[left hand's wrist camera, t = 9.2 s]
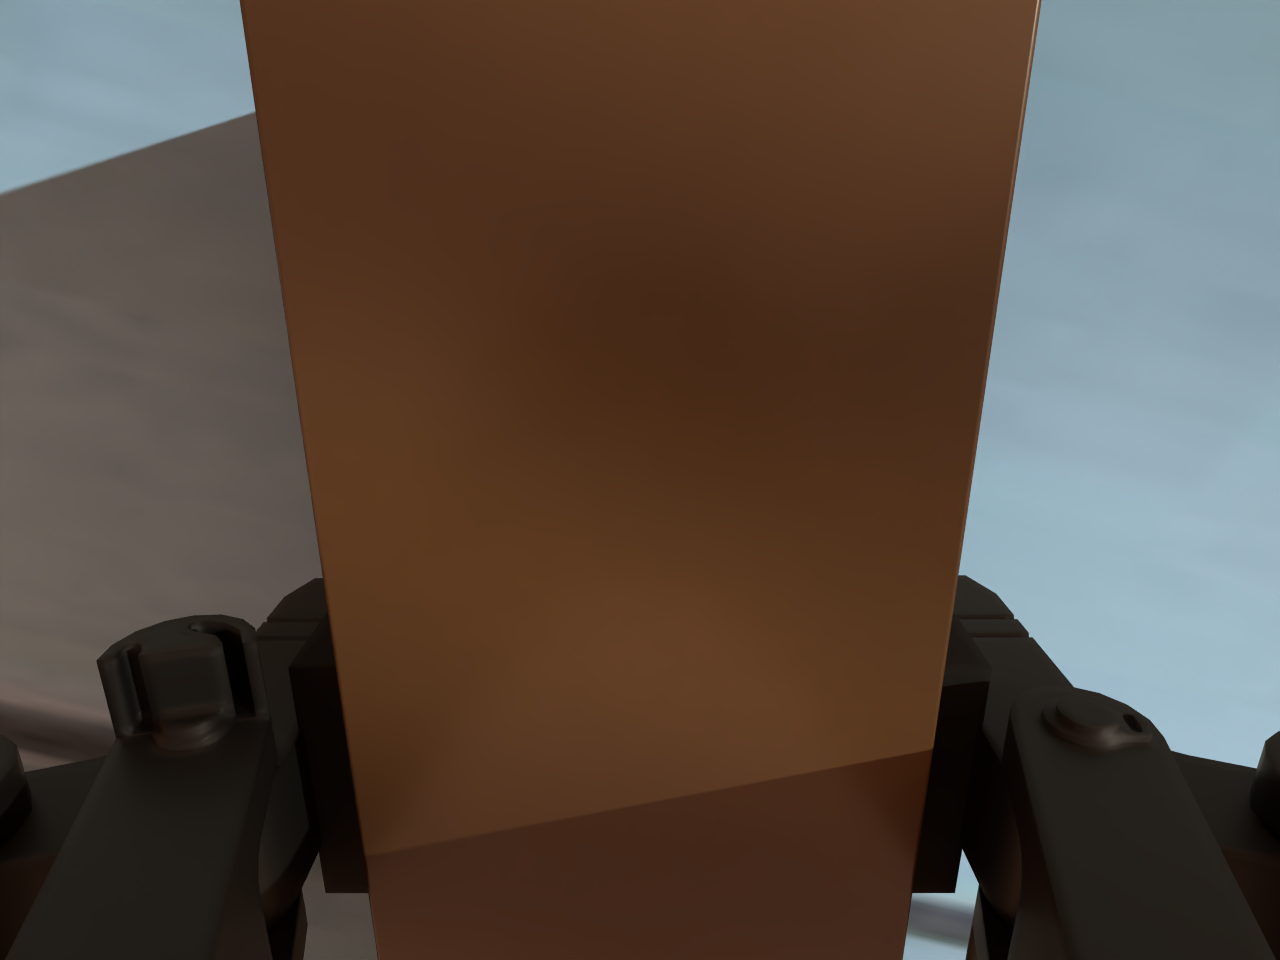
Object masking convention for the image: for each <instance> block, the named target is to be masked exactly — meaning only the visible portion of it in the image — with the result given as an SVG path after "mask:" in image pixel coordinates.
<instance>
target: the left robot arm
mask: <svg viewBox="0 0 1280 960" xmlns="http://www.w3.org/2000/svg"><path fill="white" fill-rule="evenodd" d="M97 665H98V669H99V673H100V677H101V680H102V684H103V688H104V692H105V696H106V700H107V704H108V708H109V712H110V715H111V719H112V723H113V727H114V731H115V735H116V740H115V742H114V744H113V746H112V748H111V750H110V752H109V754H108V755H106V756H102V757H99V758H95V759H90V760H85V761H80V762H75V763H70V764H65V765H59V766H54V767H49V768H44V769H39V770H34V771H29V772H25V771H24V768H23V765H22V762H21V758H20V755H19V752H18V749H17V745H16V744H14V743H13V742H12V741H10V740H9V739H8V738H6V737H5V736H4V735H0V960H303V957H304V949H305V941H306V933H307V925H308V924H307V917H306V910H305V904H304V898H303V893H302V886H303V884H304V882H305V880H306V878H307V876H308V874H309V871H310V869H311V867H312V865H313V863H314V861H315V859H316V856H317V854H318V852H319V855H320V861H321V867H322V873H323V879H324V885H325V891H326V893H368V886H367V879H366V873H365V866H364V859H363V852H362V845H361V838H360V831H359V824H358V817H357V810H356V803H355V796H354V789H353V782H352V775H351V769H350V762H349V755H348V748H347V741H346V734H345V727H344V720H343V713H342V706H341V699H340V692H339V685H338V678H337V671H336V664H335V658H334V651H333V644H332V637H331V630H330V623H329V616H328V609H327V602H326V595H325V588H324V581H323V578H315V579H313V580H312V581H310V582H308V583H307V584H305V585H303V586H302V587H300V588H298V589H297V590H295V591H293V592H292V593H290V594H288V595H287V596H285V597H284V598H283V599H282V601H281V602H280V603H279V604H278V606H277V607H276V608H275V609H274V610H273V612H272V613H271V614H270V615H269V616H268V618H267V622H264V623H263V624H262V625H261V626H260V627H259V629H258V630H257V631H255V628H254V627H253V626H252V625H250V624H249V623H247V622H246V621H245V620H243V619H240V618H235V617H230V616H225V615H194V616H189V617H184V618H179V619H174V620H169V621H164V622H161V623H158V624H156V625H153V626H150V627H147V628H144V629H142V630H139V631H136V632H134V633H132V634H131V635H129V636H127V637H125V638H124V639H122V640H120V641H118V642H116V643H115V644H113V645H111V646H110V647H109V648H108V649H107V650H106V651H105V652H104V653H103V654H102V655H101V657H100V658H99V659H98V660H97ZM962 849H963V851H964V853H965V855H966V857H967V859H968V862H969V864H970V866H971V868H972V870H973V872H974V874H975V876H976V879H977V881H978V883H979V887H978V893H977V898H976V904H975V910H974V915H973V921H972V926H971V932H970V937H969V943H968V949H967V954H966V960H1280V731H1278V732H1277V733H1276V734H1274V735H1273V736H1272V737H1270V738H1269V739H1268V740H1266V741H1265V744H1264V748H1263V751H1262V754H1261V757H1260V761H1259V764H1258V767H1257V769H1256V768H1251V767H1246V766H1241V765H1236V764H1231V763H1225V762H1220V761H1215V760H1210V759H1205V758H1200V757H1195V756H1189V755H1185V754H1181V753H1178V752H1174V751H1171V750H1170V748H1169V746H1168V744H1167V742H1166V740H1165V738H1164V737H1163V735H1162V734H1161V733H1160V732H1159V731H1158V729H1157V728H1156V727H1155V726H1154V725H1153V723H1152V722H1151V721H1150V720H1149V719H1148V718H1146V717H1145V716H1143V715H1142V714H1140V713H1139V712H1137V711H1136V710H1134V709H1133V708H1131V707H1130V706H1128V705H1127V704H1124V703H1122V702H1119V701H1117V700H1115V699H1112V698H1110V697H1107V696H1105V695H1103V694H1100V693H1096V692H1092V691H1087V690H1083V689H1079V688H1074V687H1073V686H1072V684H1071V683H1070V682H1069V681H1068V680H1067V678H1066V677H1065V676H1064V675H1063V674H1062V672H1061V671H1060V670H1059V669H1058V668H1057V666H1056V665H1055V664H1054V663H1053V662H1052V660H1051V659H1050V658H1049V657H1048V656H1047V654H1046V653H1045V652H1044V651H1043V650H1042V648H1041V647H1040V646H1039V645H1038V643H1037V642H1036V641H1035V640H1034V639H1033V637H1029V633H1028V631H1027V630H1026V629H1025V628H1024V627H1023V625H1022V624H1021V623H1020V622H1019V621H1018V619H1014V615H1013V613H1012V612H1011V611H1010V610H1009V609H1008V607H1007V606H1006V605H1005V604H1004V603H1003V601H1002V600H1001V599H1000V598H999V597H998V595H997V594H996V593H994V592H992V591H991V590H989V589H987V588H986V587H984V586H982V585H981V584H979V583H977V582H976V581H974V580H972V579H971V578H969V577H967V576H966V575H958V580H957V587H956V594H955V601H954V608H953V615H952V622H951V628H950V635H949V642H948V649H947V656H946V663H945V670H944V677H943V684H942V691H941V698H940V704H939V711H938V718H937V725H936V732H935V739H934V746H933V753H932V760H931V767H930V774H929V780H928V787H927V794H926V801H925V808H924V815H923V822H922V829H921V836H920V843H919V849H918V856H917V863H916V870H915V877H914V884H913V891H912V893H955V888H956V883H957V877H958V871H959V865H960V859H961V853H962Z"/></svg>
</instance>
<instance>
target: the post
mask: <svg viewBox="0 0 1280 960" xmlns="http://www.w3.org/2000/svg"><path fill="white" fill-rule="evenodd" d="M240 6H241V13H242V20H243V26H244V33H245V40H246V47H247V54H248V61H249V68H250V75H251V82H252V89H253V96H254V103H255V110H256V117H257V124H258V130H259V137H260V144H261V151H262V158H263V165H264V172H265V179H266V186H267V193H268V200H269V207H270V214H271V221H272V228H273V235H274V241H275V248H276V255H277V262H278V269H279V276H280V283H281V290H282V297H283V304H284V311H285V318H286V325H287V332H288V339H289V345H290V352H291V359H292V366H293V373H294V380H295V387H296V394H297V401H298V408H299V415H300V422H301V429H302V436H303V443H304V449H305V456H306V463H307V470H308V477H309V484H310V491H311V498H312V505H313V512H314V519H315V526H316V533H317V540H318V547H319V554H320V560H321V567H322V574H323V581H324V588H325V595H326V602H327V609H328V616H329V623H330V630H331V637H332V644H333V651H334V658H335V664H336V671H337V678H338V685H339V692H340V699H341V706H342V713H343V720H344V727H345V734H346V741H347V748H348V755H349V762H350V769H351V775H352V782H353V789H354V796H355V803H356V810H357V817H358V824H359V831H360V838H361V845H362V852H363V859H364V866H365V873H366V879H367V886H368V893H369V900H370V907H371V914H372V921H373V928H374V935H375V942H376V949H377V956H378V960H903V953H904V946H905V939H906V932H907V925H908V919H909V912H910V905H911V898H912V891H913V884H914V877H915V870H916V863H917V856H918V849H919V843H920V836H921V829H922V822H923V815H924V808H925V801H926V794H927V787H928V780H929V774H930V767H931V760H932V753H933V746H934V739H935V732H936V725H937V718H938V711H939V704H940V698H941V691H942V684H943V677H944V670H945V663H946V656H947V649H948V642H949V635H950V628H951V622H952V615H953V608H954V601H955V594H956V587H957V580H958V573H959V566H960V559H961V552H962V546H963V539H964V532H965V525H966V518H967V511H968V504H969V497H970V490H971V483H972V476H973V470H974V463H975V456H976V449H977V442H978V435H979V428H980V421H981V414H982V407H983V401H984V394H985V387H986V380H987V373H988V366H989V359H990V352H991V345H992V338H993V331H994V325H995V318H996V311H997V304H998V297H999V290H1000V283H1001V276H1002V269H1003V262H1004V255H1005V249H1006V242H1007V235H1008V228H1009V221H1010V214H1011V207H1012V200H1013V193H1014V186H1015V179H1016V173H1017V166H1018V159H1019V152H1020V145H1021V138H1022V131H1023V124H1024V117H1025V110H1026V104H1027V97H1028V90H1029V83H1030V76H1031V69H1032V62H1033V55H1034V48H1035V41H1036V34H1037V28H1038V21H1039V14H1040V7H1041V0H240Z"/></svg>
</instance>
